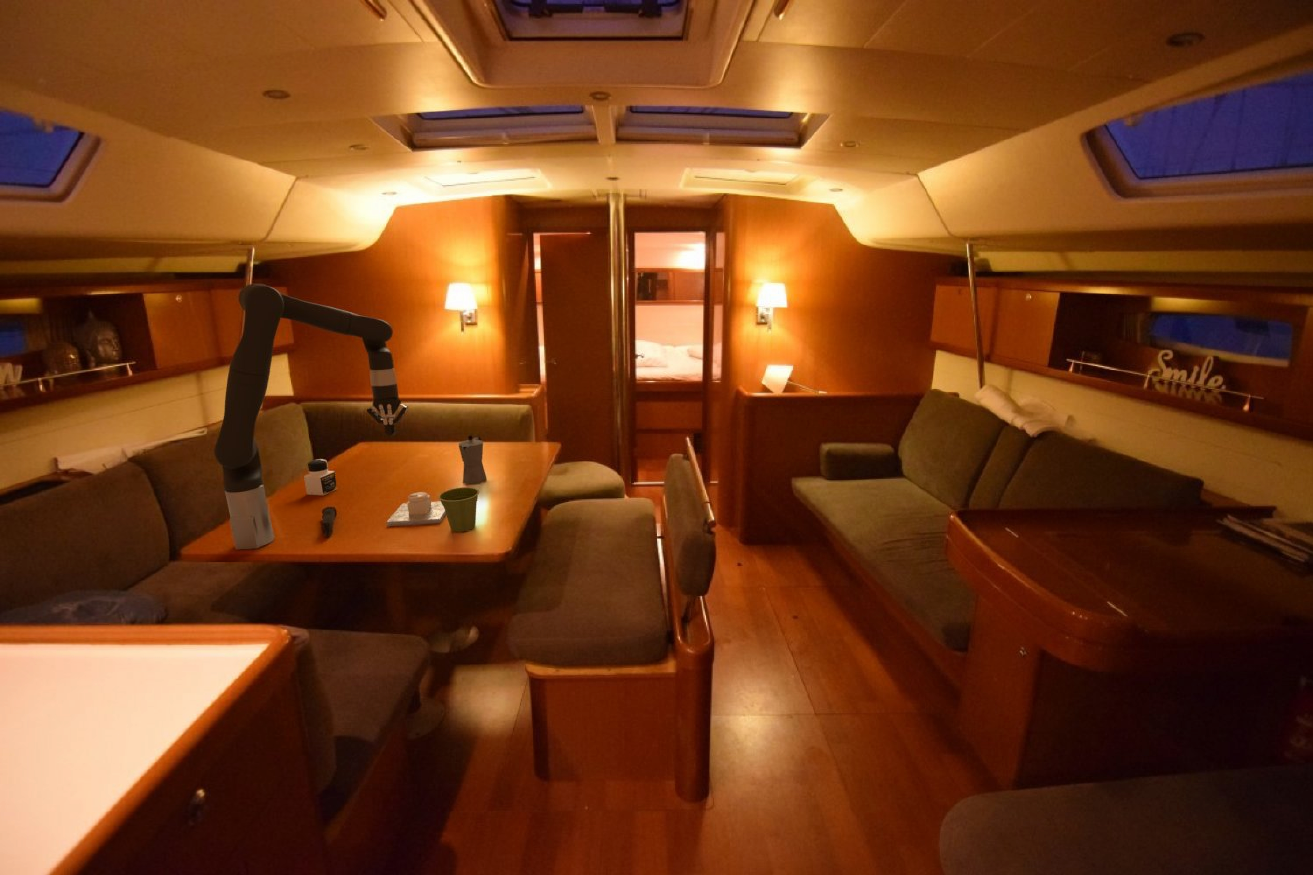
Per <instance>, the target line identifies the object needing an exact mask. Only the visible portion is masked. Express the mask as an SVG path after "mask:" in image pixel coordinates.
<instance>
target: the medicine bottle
mask: <svg viewBox="0 0 1313 875" xmlns="http://www.w3.org/2000/svg"><path fill="white" fill-rule="evenodd" d="M328 466H329V465H328V462H327V460H326V459H323V458H319V459H313V460H310V461H308V463H307V467H308V473H309V474H306V475H304V476H303V478H304V485H305V490H306V495H310V496H326V495H329V494H330V493H332V492H335V491H336V490H338V485H337V479H336V472H335V470H329V467H328Z"/></svg>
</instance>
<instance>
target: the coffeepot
mask: <svg viewBox="0 0 1313 875" xmlns="http://www.w3.org/2000/svg"><path fill="white" fill-rule="evenodd" d="M467 437H468V439H467V440H463V441H460V442H459V443H458V448H459V451H460V455H461V460H462V462H463V472H462V474H463V475H462V476H463V477H462V484H464V485H468V486H469V485H471V486H472V485H473V486H475V485H479V484H483V483H485V482H487V475H486V474H487V473H486V472H485V471H486V470H485V467H484V464H483V453H484V452H483V451H484V450H483V449H484V441H483V440H482V439H481V437H480V436H475V437H474V438H473V434H472V435H471V434H469V435H467Z"/></svg>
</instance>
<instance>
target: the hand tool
mask: <svg viewBox="0 0 1313 875" xmlns="http://www.w3.org/2000/svg"><path fill="white" fill-rule="evenodd" d="M321 512H322V515H321V518H322V520H321V525H322V526H321V527H322V532H323V535H324V536H325V538H326V539H328V538H329V537H331V535H332V534H333V532H334V525H335V524H334V523H335V520H336V518H335V517H337V515H338V512H337V509H336V508H335V506H326V507H325V508H323V509H322V511H321Z"/></svg>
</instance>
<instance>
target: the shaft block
mask: <svg viewBox="0 0 1313 875" xmlns="http://www.w3.org/2000/svg"><path fill="white" fill-rule="evenodd" d="M445 516H446V512H445V509H444V506H443V505H442V502H441V500H440V501H431V508H430V510H429V511H428V513H427V514H411V515H409V512H408V506H407V502H406V503H405V502H404V503H402V504H400V506H399V507H398V508H397V509H396V510H395V512H394V513H393V514H392V515H391V516H390V518H389V519H387V521H386V526H387V527H397V526H417V525H419V526H420V525H433V524H434V525H436V524H441V523H442V521H443V520H444V518H445Z"/></svg>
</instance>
